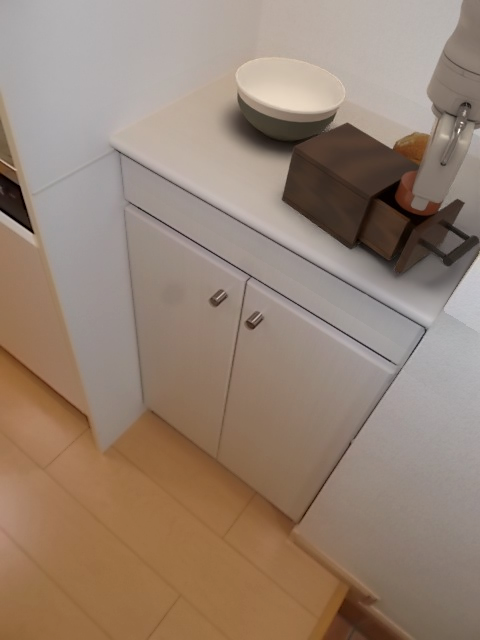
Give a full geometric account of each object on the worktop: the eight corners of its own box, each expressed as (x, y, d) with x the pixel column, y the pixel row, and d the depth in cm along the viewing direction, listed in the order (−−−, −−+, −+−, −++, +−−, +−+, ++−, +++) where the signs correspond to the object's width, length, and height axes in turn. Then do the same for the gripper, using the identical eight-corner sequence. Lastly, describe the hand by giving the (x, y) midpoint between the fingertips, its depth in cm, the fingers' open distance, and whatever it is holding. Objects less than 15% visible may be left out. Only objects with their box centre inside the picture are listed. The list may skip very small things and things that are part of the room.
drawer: (470, 261, 74) (495, 221, 68) (429, 296, 68) (453, 255, 63) (374, 198, 81) (390, 157, 75) (330, 225, 75) (344, 182, 70)
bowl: (293, 94, 101) (303, 51, 95) (354, 145, 92) (369, 101, 86) (210, 110, 93) (214, 64, 87) (267, 168, 84) (276, 120, 78)
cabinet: (398, 217, 80) (421, 166, 73) (350, 249, 74) (370, 196, 67) (331, 173, 85) (347, 122, 79) (281, 199, 79) (293, 146, 72)
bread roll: (438, 191, 92) (461, 146, 89) (433, 195, 84) (459, 146, 80) (386, 169, 95) (407, 125, 91) (376, 171, 86) (399, 122, 83)
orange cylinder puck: (410, 182, 72) (418, 165, 70) (447, 204, 70) (456, 188, 68) (385, 197, 69) (392, 180, 67) (423, 221, 67) (431, 205, 65)
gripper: (493, 139, 50) (434, 246, 61) (505, 61, 63) (455, 161, 74) (429, 119, 51) (382, 227, 62) (454, 46, 64) (411, 146, 75)
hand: (422, 190), depth 68 cm, fingers closed on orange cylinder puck, 6 cm apart
